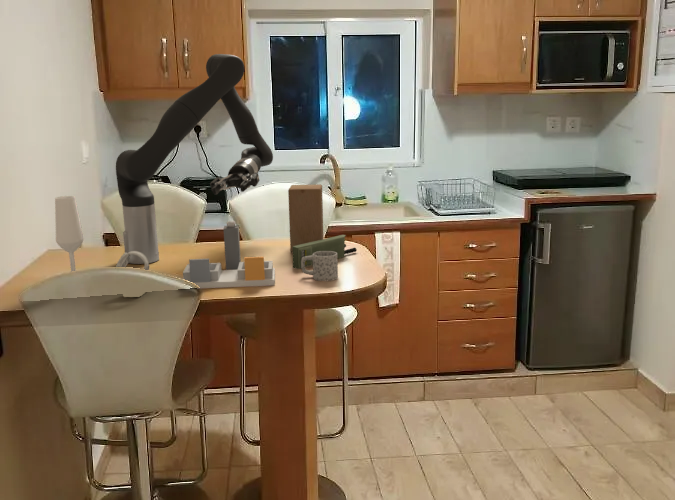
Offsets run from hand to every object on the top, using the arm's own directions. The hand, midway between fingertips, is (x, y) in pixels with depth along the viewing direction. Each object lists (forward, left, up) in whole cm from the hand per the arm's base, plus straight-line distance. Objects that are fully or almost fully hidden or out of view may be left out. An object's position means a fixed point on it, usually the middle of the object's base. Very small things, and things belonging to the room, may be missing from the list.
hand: (228, 190), depth 199 cm
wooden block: (+23, +10, -21) cm, 33 cm away
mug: (+25, -25, -21) cm, 41 cm away
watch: (-22, -34, -21) cm, 45 cm away
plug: (+1, -11, -21) cm, 24 cm away
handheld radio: (+28, -6, -22) cm, 36 cm away
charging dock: (+1, -25, -21) cm, 32 cm away
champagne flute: (-39, -26, -21) cm, 51 cm away
